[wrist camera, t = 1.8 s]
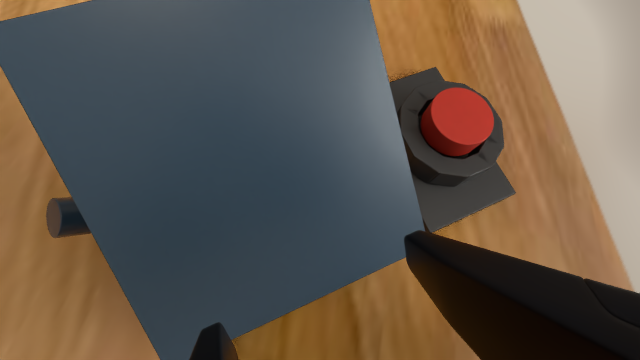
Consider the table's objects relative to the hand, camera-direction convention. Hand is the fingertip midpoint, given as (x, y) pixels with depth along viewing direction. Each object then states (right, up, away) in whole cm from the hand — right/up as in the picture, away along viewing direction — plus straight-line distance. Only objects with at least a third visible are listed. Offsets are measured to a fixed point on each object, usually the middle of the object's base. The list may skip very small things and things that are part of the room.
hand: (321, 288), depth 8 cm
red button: (+8, +6, +14) cm, 18 cm away
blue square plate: (-3, +3, +5) cm, 6 cm away
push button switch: (+8, +5, +17) cm, 19 cm away
